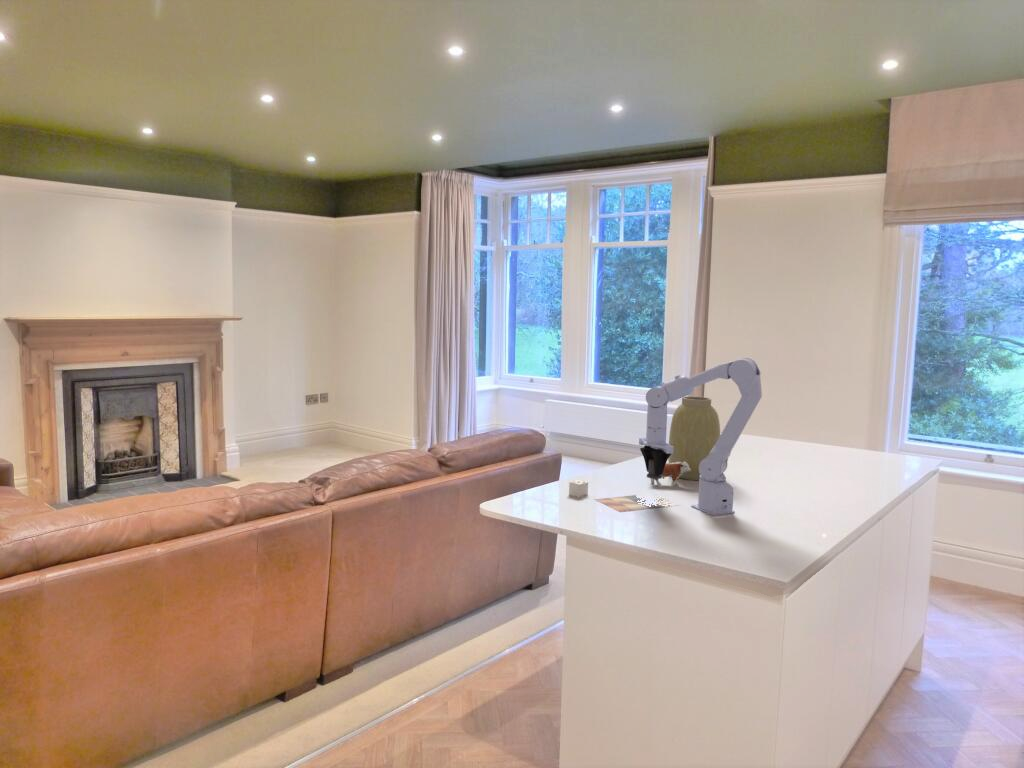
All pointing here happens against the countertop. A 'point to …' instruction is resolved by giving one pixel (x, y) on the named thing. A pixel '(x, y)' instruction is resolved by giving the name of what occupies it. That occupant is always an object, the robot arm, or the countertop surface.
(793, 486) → the countertop surface
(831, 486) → the countertop surface
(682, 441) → the vase
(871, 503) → the countertop surface
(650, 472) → the dark grey rounded knob
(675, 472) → the bull figurine
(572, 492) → the die
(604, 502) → the track board
